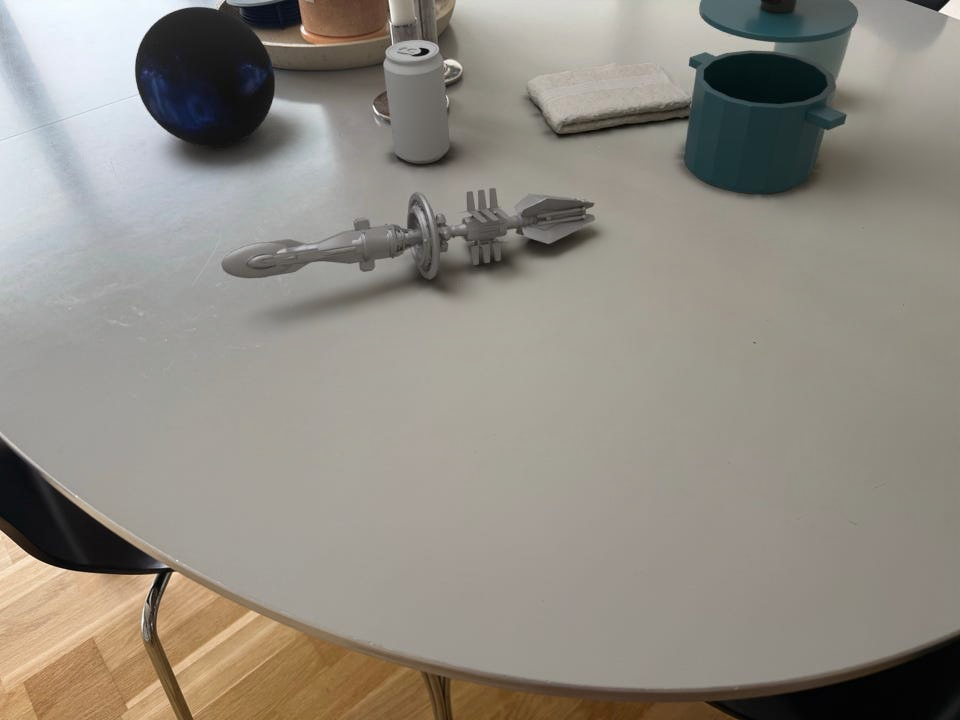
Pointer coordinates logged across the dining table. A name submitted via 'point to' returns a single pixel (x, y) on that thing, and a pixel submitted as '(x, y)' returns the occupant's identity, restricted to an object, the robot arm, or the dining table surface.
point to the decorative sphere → (204, 76)
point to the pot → (758, 120)
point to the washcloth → (608, 96)
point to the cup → (820, 51)
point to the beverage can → (417, 101)
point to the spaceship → (418, 236)
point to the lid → (781, 19)
